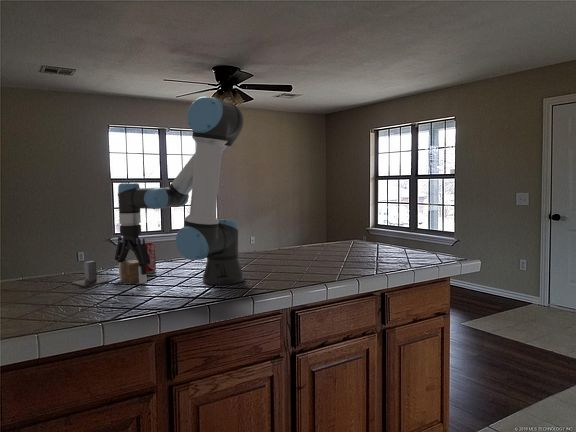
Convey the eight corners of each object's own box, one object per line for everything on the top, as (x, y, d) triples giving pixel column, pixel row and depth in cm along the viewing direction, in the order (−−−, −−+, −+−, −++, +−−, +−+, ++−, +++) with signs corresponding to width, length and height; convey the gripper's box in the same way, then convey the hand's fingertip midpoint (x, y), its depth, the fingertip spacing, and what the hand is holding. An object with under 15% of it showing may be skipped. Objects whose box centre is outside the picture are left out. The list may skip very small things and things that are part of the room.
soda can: (150, 274, 175) (149, 242, 174) (134, 274, 176) (133, 242, 175) (159, 271, 182) (158, 240, 181) (143, 270, 183) (142, 240, 182)
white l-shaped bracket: (110, 281, 163) (109, 260, 162) (84, 287, 155) (83, 265, 154) (96, 278, 169) (95, 258, 168) (71, 283, 161) (69, 262, 160)
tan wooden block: (143, 281, 163) (143, 261, 162) (130, 283, 158) (129, 263, 158) (135, 279, 166) (134, 259, 166) (122, 282, 162) (121, 262, 161)
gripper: (158, 224, 156) (161, 283, 158) (121, 222, 171) (123, 275, 173) (140, 226, 150) (143, 287, 152) (103, 223, 165) (106, 278, 167)
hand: (132, 281), depth 162 cm, fingers open, 12 cm apart
